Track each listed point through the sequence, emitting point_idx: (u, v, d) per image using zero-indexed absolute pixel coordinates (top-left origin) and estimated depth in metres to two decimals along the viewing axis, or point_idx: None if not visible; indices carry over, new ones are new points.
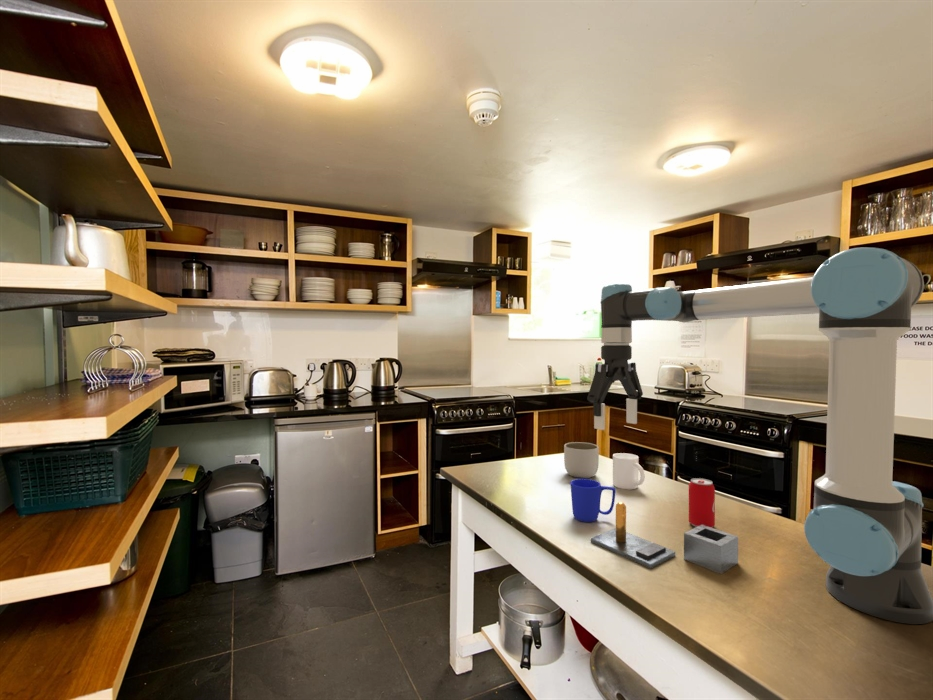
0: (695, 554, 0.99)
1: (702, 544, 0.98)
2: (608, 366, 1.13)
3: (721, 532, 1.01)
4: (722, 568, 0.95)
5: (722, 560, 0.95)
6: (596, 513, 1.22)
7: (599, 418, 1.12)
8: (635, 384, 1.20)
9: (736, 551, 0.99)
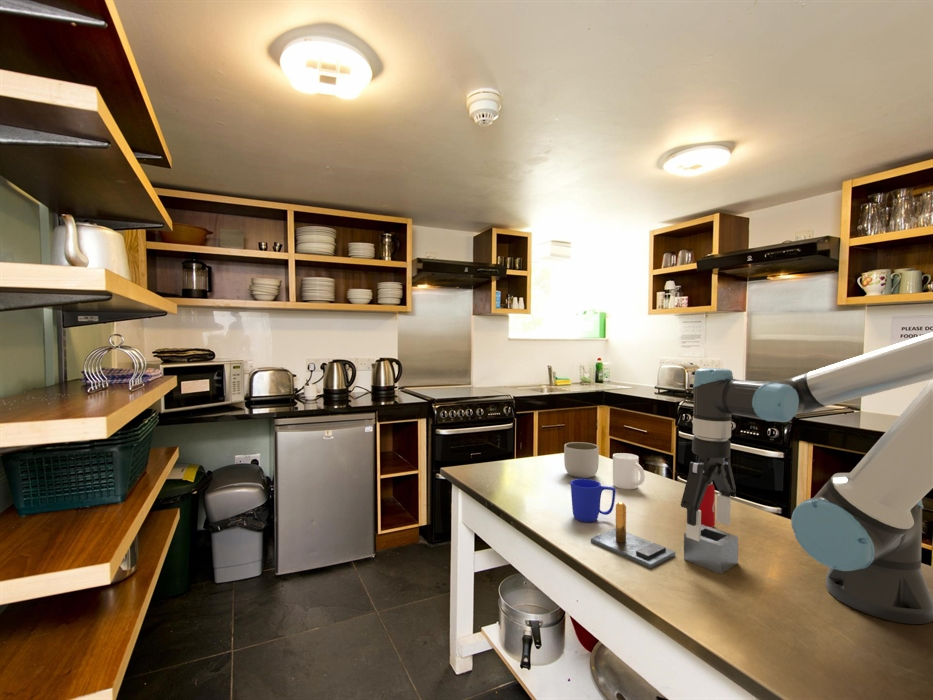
0: (695, 554, 0.99)
1: (702, 544, 0.98)
2: (704, 465, 0.97)
3: (721, 532, 1.01)
4: (722, 568, 0.95)
5: (722, 560, 0.95)
6: (596, 513, 1.22)
7: (693, 527, 0.96)
8: (728, 479, 1.04)
9: (736, 551, 0.99)
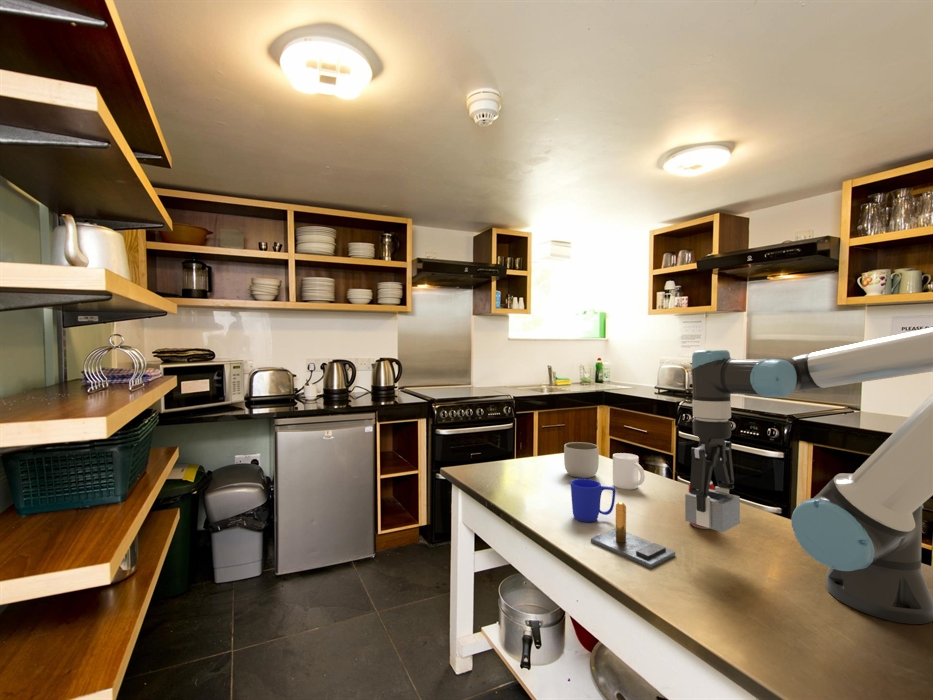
0: None
1: None
2: (705, 448, 0.97)
3: (722, 493, 1.01)
4: (724, 526, 0.94)
5: (724, 518, 0.94)
6: (596, 513, 1.22)
7: (703, 513, 0.96)
8: (727, 468, 1.02)
9: (738, 511, 0.98)
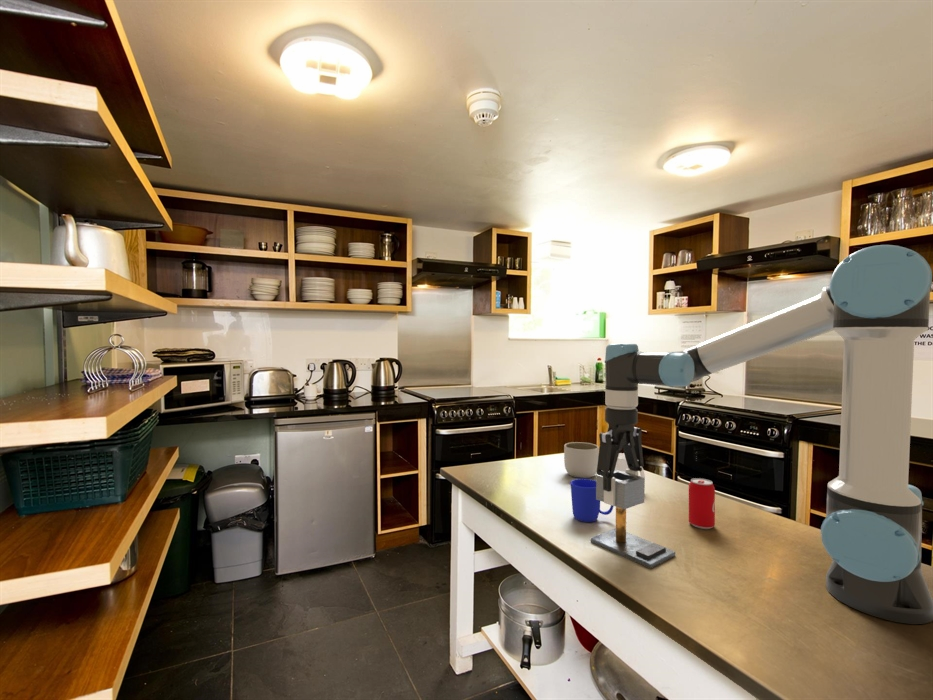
0: None
1: None
2: (612, 433, 1.05)
3: (631, 474, 1.10)
4: (626, 504, 1.03)
5: (626, 497, 1.03)
6: (596, 513, 1.22)
7: (609, 493, 1.05)
8: (637, 452, 1.11)
9: (642, 491, 1.07)
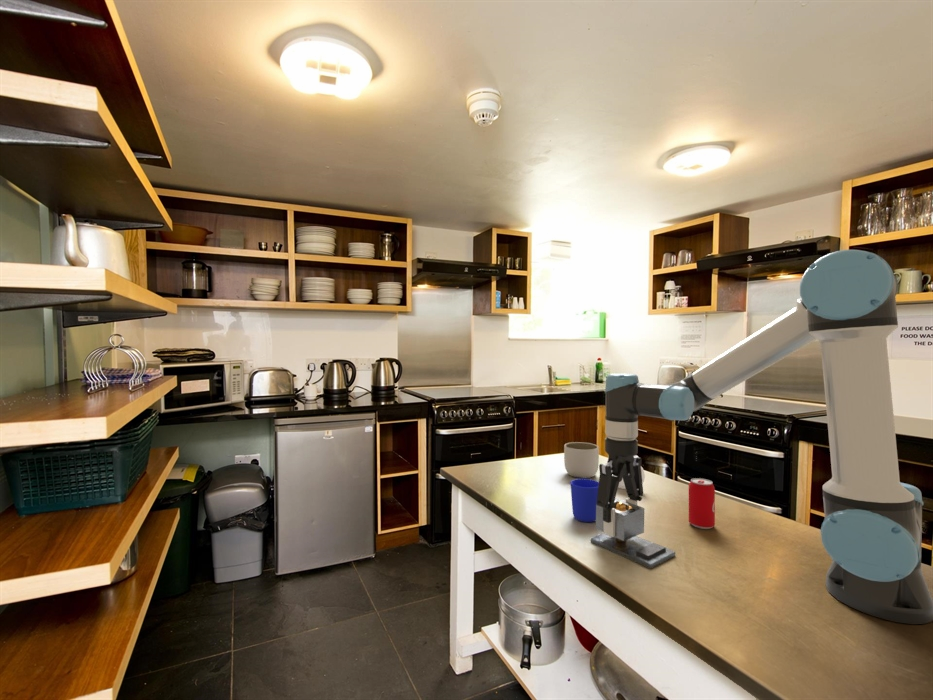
0: None
1: None
2: (612, 464, 1.05)
3: (630, 504, 1.10)
4: (625, 536, 1.04)
5: (626, 528, 1.04)
6: None
7: (609, 524, 1.06)
8: (637, 481, 1.11)
9: (642, 521, 1.07)
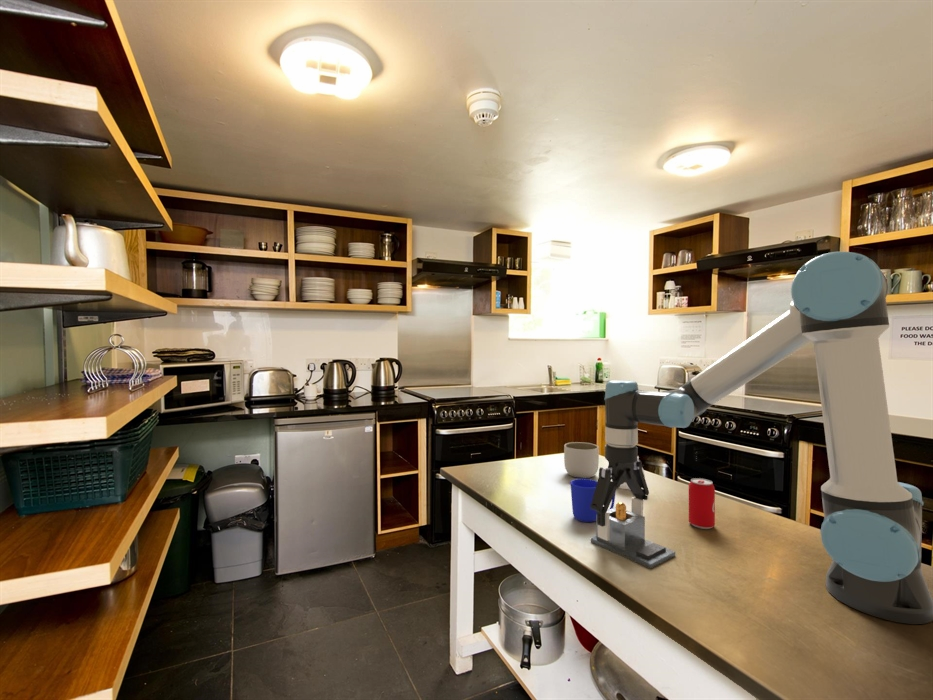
0: None
1: (610, 524, 1.06)
2: (612, 470, 1.05)
3: (631, 513, 1.10)
4: (626, 545, 1.04)
5: (626, 538, 1.04)
6: (596, 513, 1.22)
7: (603, 527, 1.04)
8: (641, 483, 1.12)
9: (642, 530, 1.07)
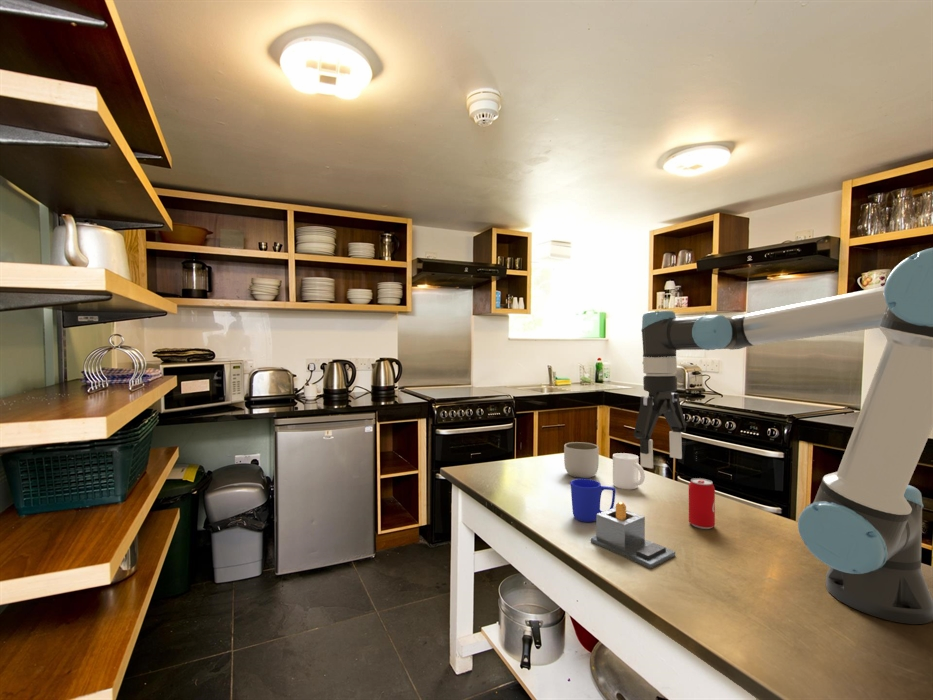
0: (605, 533, 1.07)
1: (610, 524, 1.06)
2: (654, 399, 1.05)
3: (631, 513, 1.10)
4: (626, 545, 1.04)
5: (626, 538, 1.04)
6: (596, 513, 1.22)
7: (646, 455, 1.04)
8: (678, 416, 1.12)
9: (642, 530, 1.07)
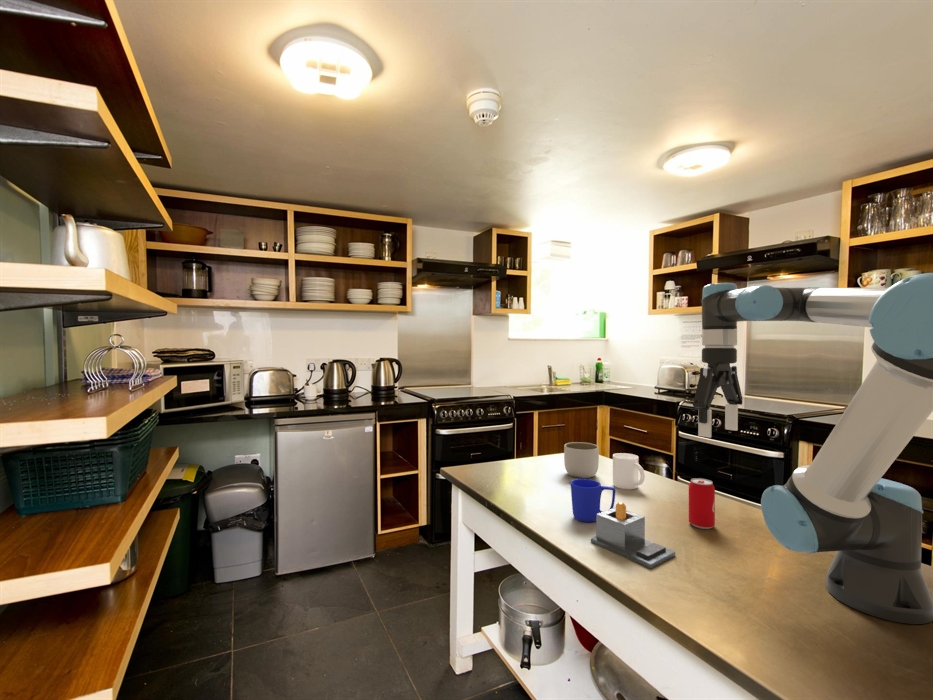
0: (605, 533, 1.07)
1: (610, 524, 1.06)
2: (713, 370, 1.07)
3: (631, 513, 1.10)
4: (626, 545, 1.04)
5: (626, 538, 1.04)
6: (596, 513, 1.22)
7: (705, 425, 1.05)
8: (735, 389, 1.14)
9: (642, 530, 1.07)
